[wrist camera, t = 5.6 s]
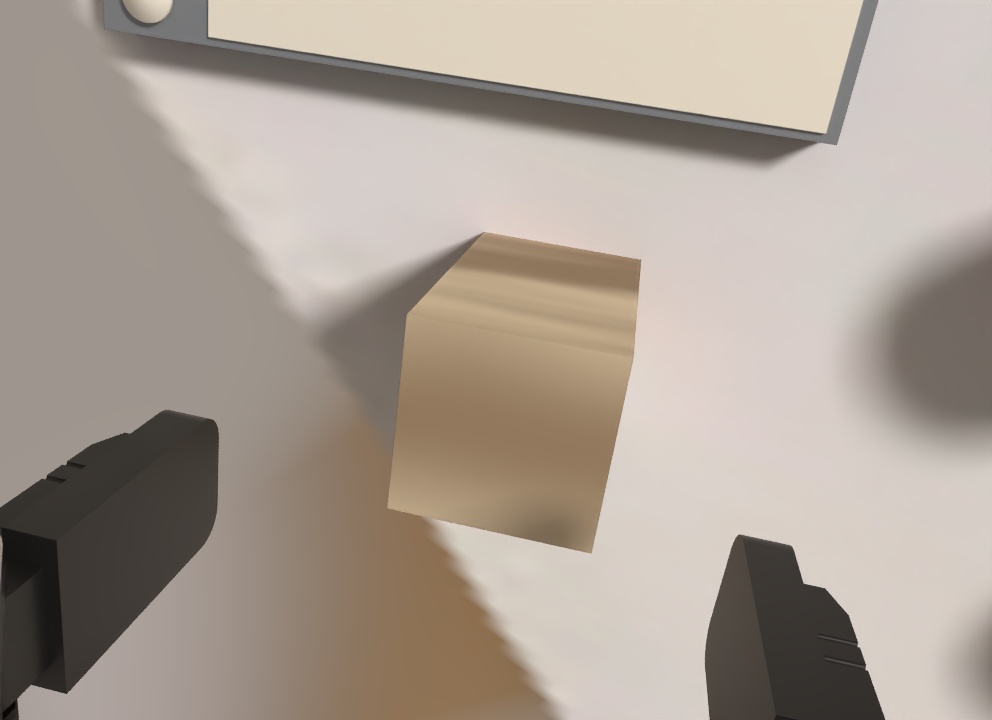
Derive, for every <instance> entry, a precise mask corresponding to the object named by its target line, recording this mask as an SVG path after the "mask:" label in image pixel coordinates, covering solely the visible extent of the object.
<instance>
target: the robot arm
mask: <svg viewBox="0 0 992 720" xmlns="http://www.w3.org/2000/svg"><path fill="white" fill-rule="evenodd" d="M218 443H219V433H218V427H217V425H216V423H215V421H214V420H211V419H208V418H203V417H198V416H193V415H189V414H184V413H180V412H175V411H171V410H164V411H162V412H160V413H159V414H157V415H156V416H154V417H153V418H152V419H150V420H149V421H147V422H146V423H145V424H143V425H142V426H141V427H139V428H138V429H137V430H135V431H134V432H133V433H131V434H128V433H123V434H120V435H117V436H115V437H112V438H109V439H106V440H103V441H100V442H97V443H95V444H92V445H90V446H89V447H87V448H86V449H84V450H83V451H82V452H80V453H79V454H77V455H76V456H75V457H73V458H72V459H70V460H68V461H67V464H66V465H61V466H60V467H59V468H57V469H55V470H54V471H53V472H51V473H50V474H48V475H47V478H46V480H45V479H41V480H40V481H38V482H37V483H35V484H34V485H32V486H31V487H29V488H28V489H26V490H25V491H24V492H22V493H21V494H19V495H18V496H16V497H15V498H13V499H12V500H11V501H9V502H8V503H6V504H5V505H3V506H2V507H1V508H0V720H19V713H18V702H17V698H18V697H19V696H20V695H21V694H22V693H23V692H24V691H25V690H26V689H27V688H28V687H29V686H30V685H35V686H38V687H42V688H46V689H50V690H53V691H57V692H61V693H65V694H67V693H68V692H69V691H70V690H71V689H72V687H73V686H74V685H75V684H76V683H77V682H78V681H79V680H80V679H81V678H82V677H83V676H84V674H86V672H87V671H88V670H89V669H90V668H91V667H92V666H93V665H94V664H95V663H96V662H97V660H98V659H99V658H100V657H101V656H102V655H103V654H104V653H105V652H106V651H107V650H108V648H109V647H110V646H111V645H112V644H113V643H114V642H115V641H116V640H117V639H118V637H120V635H121V634H122V633H123V632H124V631H125V630H126V629H127V628H128V627H129V626H130V624H132V622H133V621H134V620H135V619H136V618H137V617H138V616H139V615H140V614H141V612H143V610H144V609H145V608H146V607H147V606H148V605H149V604H150V602H152V601H153V600H154V598H155V597H156V596H157V595H158V594H159V593H160V592H161V591H162V590H163V589H164V588H165V586H166V585H167V584H168V583H169V582H170V581H171V580H172V579H173V578H174V577H175V576H176V574H178V572H179V571H180V570H181V569H182V568H183V567H184V566H185V565H186V564H187V563H188V562H189V561H190V559H191V558H192V557H193V556H194V555H195V554H196V553H197V552H198V551H199V550H200V549H201V547H202V546H203V545H204V544H205V542H206V541H207V539H208V537H209V535H210V533H211V530H212V528H213V525H214V522H215V518H216V513H217V498H218V447H219V444H218ZM857 645H858V641H857V638H856V635H855V632H854V630H853V627H852V624H851V621H850V618H849V615H848V614H847V613H846V612H845V611H844V610H843V608H842V607H841V606H840V605H839V604H838V603H837V602H836V600H835V599H834V598H833V597H832V596H831V595H830V594H829V592H828V591H827V590H826V589H825V588H821V587H816V586H811V585H807V584H803V580H802V577H801V573H800V570H799V567H798V563H797V560H796V556H795V553H794V550H793V548H792V546H790V545H786V544H782V543H777V542H772V541H768V540H763V539H758V538H754V537H749V536H745V535H738V536H737V537H736V539H735V541H734V543H733V545H732V548H731V552H730V555H729V559H728V562H727V565H726V569H725V572H724V576H723V579H722V583H721V586H720V589H719V593H718V596H717V600H716V603H715V607H714V610H713V613H712V617H711V620H710V624H709V629H708V634H707V641H706V650H705V671H706V682H707V694H708V705H709V717H710V720H885V718H884V715H883V712H882V709H881V706H880V703H879V701H878V698H877V695H876V692H875V689H874V686H873V684H872V681H871V678H870V675H869V672H868V671H866V670H865V667H866V664H865V661H864V658H863V655H862V652H861V649H860V648H859V647H857Z"/></svg>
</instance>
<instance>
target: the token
mask: <svg viewBox="0 0 992 720" xmlns="http://www.w3.org/2000/svg"><path fill="white" fill-rule="evenodd" d="M640 268H641V260H638V259H633V258H627V257H622V256H616V255H610V254H605V253H599V252H593V251H588V250H582V249H577V248H571V247H565V246H560V245H554V244H549V243H543V242H537V241H532V240H526V239H521V238H515V237H509V236H504V235H498V234H492V233H487V232H484V233H483V234H482V235H481V236H480V237H479V238H478V239H477V240H476V241H475V242H474V243H473V244H472V245H471V247H470V248H469V249H468V250H467V251H466V252H465V253H464V254H463V255H462V256H461V257H460V258H459V259H458V260H457V261H456V263H455V264H454V265H453V266H452V267H451V268H450V269H449V270H448V271H447V272H446V273H445V274H444V275H443V276H442V277H441V279H440V280H439V281H438V282H437V283H436V284H435V285H434V286H433V287H432V288H431V289H430V290H429V291H428V292H427V293H426V295H425V296H424V297H423V298H422V299H421V300H420V301H419V302H418V303H417V304H416V305H415V306H414V307H413V308H412V309H411V311H410V312H409V313H408V314H407V317H406V327H405V337H404V347H403V357H402V367H401V377H400V387H399V397H398V407H397V417H396V427H395V437H394V447H393V457H392V467H391V477H390V487H389V498H388V507H387V508H389V509H394V510H398V511H403V512H407V513H411V514H416V515H420V516H425V517H429V518H434V519H438V520H443V521H447V522H452V523H456V524H461V525H465V526H470V527H474V528H479V529H483V530H488V531H492V532H497V533H501V534H506V535H510V536H515V537H519V538H524V539H528V540H533V541H537V542H542V543H546V544H551V545H555V546H560V547H564V548H569V549H573V550H578V551H582V552H587V553H592V548H593V544H594V539H595V534H596V530H597V525H598V520H599V516H600V511H601V507H602V502H603V497H604V493H605V488H606V483H607V479H608V474H609V469H610V465H611V460H612V455H613V451H614V446H615V441H616V437H617V432H618V427H619V423H620V418H621V413H622V409H623V404H624V400H625V395H626V390H627V386H628V381H629V376H630V372H631V367H632V362H633V357H634V344H635V331H636V319H637V306H638V293H639V280H640Z"/></svg>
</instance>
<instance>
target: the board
mask: <svg viewBox="0 0 992 720" xmlns="http://www.w3.org/2000/svg"><path fill="white" fill-rule="evenodd" d="M877 3H878V0H103V10H104V29H106V30H113V31H119V32H125V33H132V34H138V35H144V36H151V37H157V38H163V39H170V40H176V41H182V42H189V43H195V44H201V45H207V46H214V47H220V48H226V49H233V50H239V51H245V52H252V53H258V54H264V55H271V56H277V57H283V58H290V59H296V60H302V61H309V62H315V63H321V64H327V65H334V66H340V67H346V68H353V69H359V70H365V71H372V72H378V73H384V74H391V75H397V76H403V77H410V78H416V79H422V80H429V81H435V82H441V83H447V84H454V85H460V86H466V87H473V88H479V89H485V90H492V91H498V92H504V93H511V94H517V95H523V96H530V97H536V98H542V99H549V100H555V101H561V102H567V103H574V104H580V105H586V106H593V107H599V108H605V109H612V110H618V111H624V112H631V113H637V114H643V115H650V116H656V117H662V118H669V119H675V120H681V121H687V122H694V123H700V124H706V125H713V126H719V127H725V128H732V129H738V130H744V131H751V132H757V133H763V134H770V135H776V136H782V137H789V138H795V139H801V140H807V141H814V142H820V143H826V144H833V145H837V143H838V139H839V136H840V132H841V129H842V125H843V122H844V118H845V115H846V112H847V108H848V105H849V101H850V98H851V94H852V91H853V87H854V84H855V80H856V77H857V73H858V70H859V66H860V63H861V59H862V56H863V52H864V49H865V45H866V42H867V38H868V35H869V31H870V28H871V24H872V21H873V17H874V14H875V10H876V7H877Z"/></svg>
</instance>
